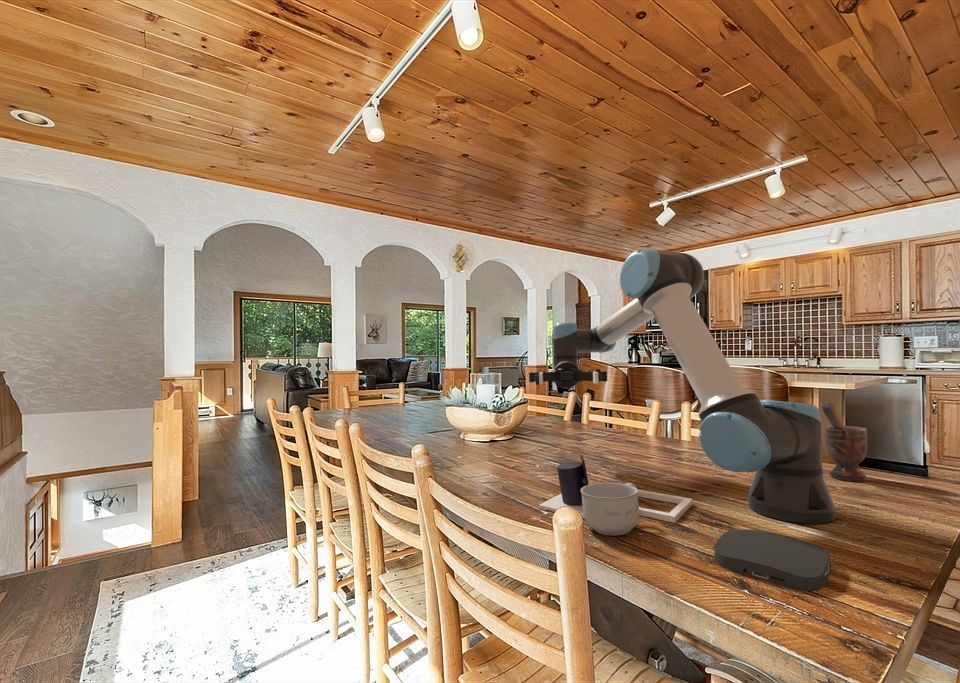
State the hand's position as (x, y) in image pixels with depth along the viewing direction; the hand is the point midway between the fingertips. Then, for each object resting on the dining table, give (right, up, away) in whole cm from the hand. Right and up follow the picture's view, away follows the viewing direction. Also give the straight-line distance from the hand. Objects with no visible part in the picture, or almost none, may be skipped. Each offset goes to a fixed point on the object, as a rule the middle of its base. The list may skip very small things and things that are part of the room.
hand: (568, 378), depth 111 cm
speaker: (-1, -27, -10) cm, 29 cm away
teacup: (+5, -28, -23) cm, 36 cm away
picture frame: (+16, -27, -12) cm, 34 cm away
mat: (-1, -28, -10) cm, 30 cm away
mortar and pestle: (+73, -27, +5) cm, 78 cm away
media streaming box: (+25, -27, -38) cm, 53 cm away
